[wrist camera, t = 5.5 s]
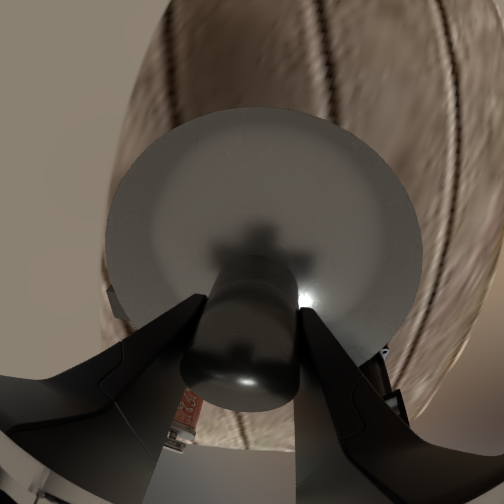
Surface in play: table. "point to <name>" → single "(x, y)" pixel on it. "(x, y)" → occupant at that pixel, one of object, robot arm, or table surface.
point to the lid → (263, 246)
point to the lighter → (184, 421)
